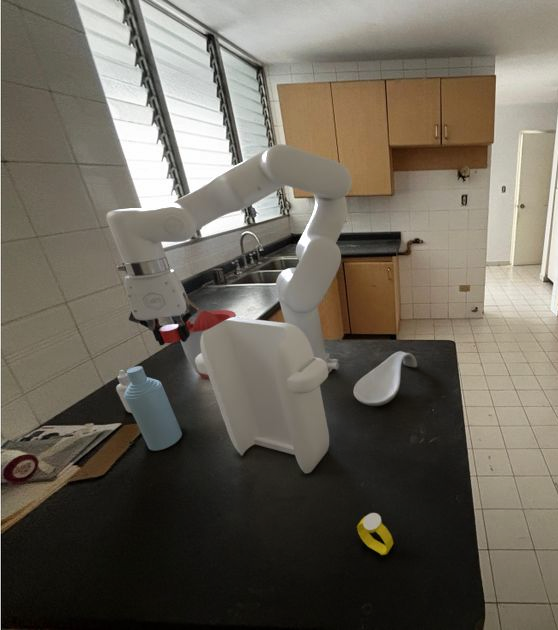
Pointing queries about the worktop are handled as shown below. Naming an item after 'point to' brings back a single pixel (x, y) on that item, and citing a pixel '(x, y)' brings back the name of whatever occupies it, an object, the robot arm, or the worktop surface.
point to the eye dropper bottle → (123, 388)
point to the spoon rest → (383, 380)
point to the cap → (170, 333)
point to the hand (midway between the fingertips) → (174, 340)
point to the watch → (375, 525)
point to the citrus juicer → (200, 325)
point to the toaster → (267, 387)
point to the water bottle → (151, 410)
